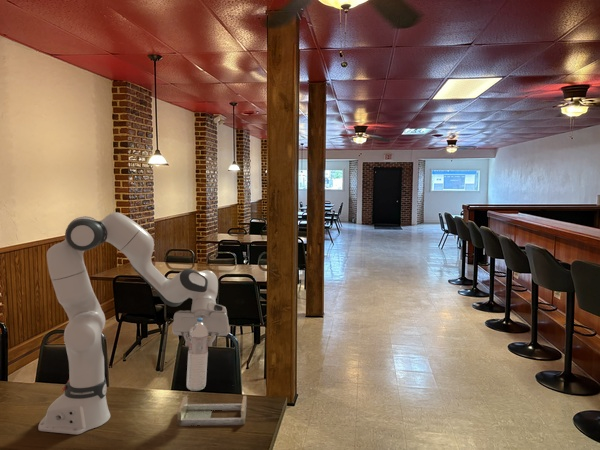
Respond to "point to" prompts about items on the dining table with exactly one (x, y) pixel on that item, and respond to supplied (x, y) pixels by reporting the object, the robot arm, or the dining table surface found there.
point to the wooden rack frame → (208, 414)
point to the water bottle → (197, 356)
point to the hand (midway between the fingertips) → (198, 345)
